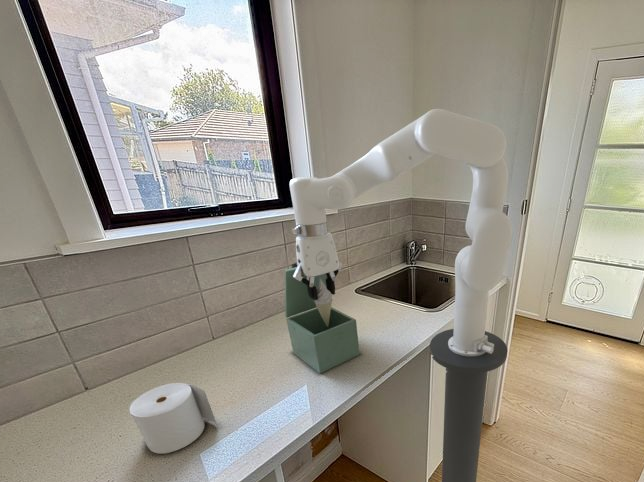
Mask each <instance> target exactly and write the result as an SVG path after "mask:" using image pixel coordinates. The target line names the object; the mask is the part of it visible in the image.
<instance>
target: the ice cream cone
mask: <svg viewBox="0 0 644 482" xmlns="http://www.w3.org/2000/svg"><path fill="white" fill-rule="evenodd" d="M317 295H318V300H315V301H314V303H315V304H316V306H317V308H318V310H319V312H320V314H321V316H322V318H323V320H324V322H325V324H326V326H327V327H328V325H329V318H330V311H331V307H332V303H333V294H331V292H330V291H328V290H327V288H326V286H325V285H324V283H323V282H322V280H321V278H320V279H319V283H318V286H317Z"/></svg>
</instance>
